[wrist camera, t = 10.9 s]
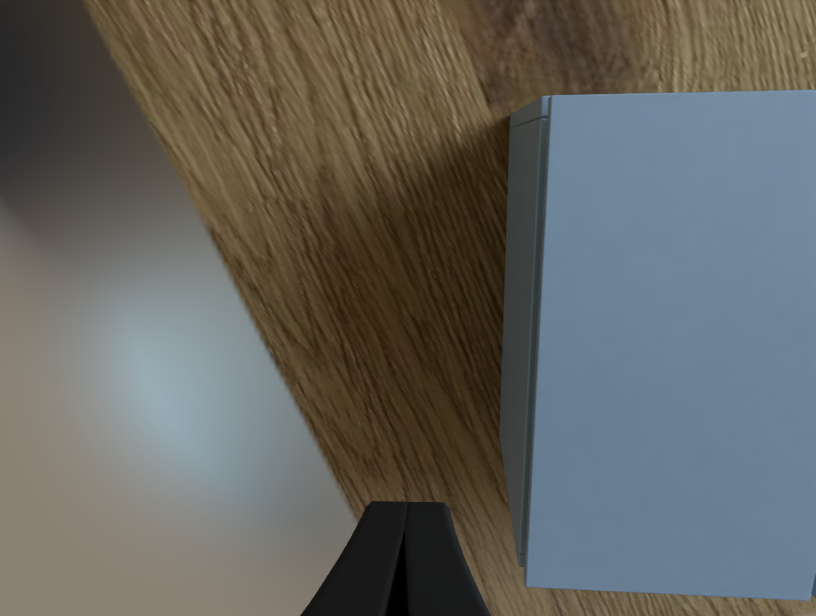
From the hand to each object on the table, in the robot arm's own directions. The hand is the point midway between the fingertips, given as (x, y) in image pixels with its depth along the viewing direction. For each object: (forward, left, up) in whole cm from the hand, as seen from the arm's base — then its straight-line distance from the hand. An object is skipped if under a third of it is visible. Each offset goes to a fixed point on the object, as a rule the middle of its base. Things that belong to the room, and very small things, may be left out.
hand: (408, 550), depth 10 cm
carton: (+2, -9, -10) cm, 13 cm away
